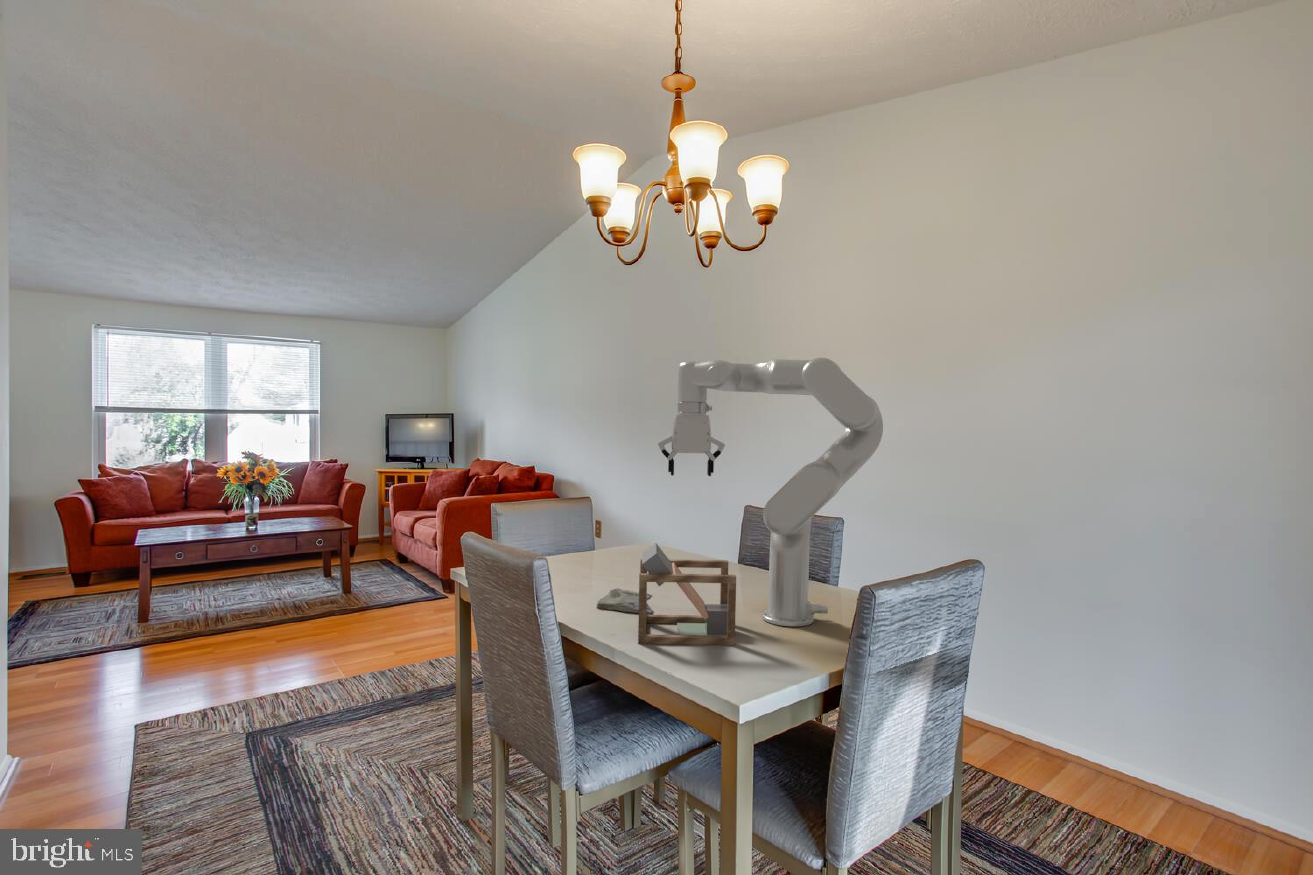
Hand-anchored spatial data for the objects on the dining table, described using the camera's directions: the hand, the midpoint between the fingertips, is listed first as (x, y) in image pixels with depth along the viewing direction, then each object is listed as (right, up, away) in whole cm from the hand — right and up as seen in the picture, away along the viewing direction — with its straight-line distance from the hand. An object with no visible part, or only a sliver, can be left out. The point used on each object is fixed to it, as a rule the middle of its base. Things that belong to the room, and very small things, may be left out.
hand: (690, 475), depth 169 cm
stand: (-2, -35, -20) cm, 40 cm away
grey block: (+2, -32, -20) cm, 38 cm away
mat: (+2, -35, -20) cm, 40 cm away
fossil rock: (-16, -35, +3) cm, 38 cm away
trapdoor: (-7, -25, -20) cm, 33 cm away
